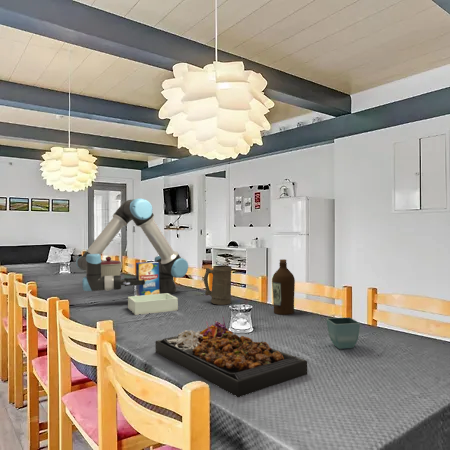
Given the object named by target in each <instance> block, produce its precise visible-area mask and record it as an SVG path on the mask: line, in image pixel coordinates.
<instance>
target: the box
mask: <svg viewBox="0 0 450 450" xmlns="http://www.w3.org/2000/svg"><path fill="white" fill-rule="evenodd" d="M178 301H179V298H178V297H176V296H175V295H172V294H171V293H164V294H153V295H142V296H137V295H134V296H133V295H132V296H127V309H128V310H129V311H130V312H131V311H132V312H131V313H132V314H133V315H135V316H139V314H141V315H148V314H149V313H150V314H157V313H167V312H176V311H178V310H179V304H178V303H179V302H178Z"/></svg>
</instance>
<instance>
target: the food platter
mask: <svg viewBox="0 0 450 450" xmlns="http://www.w3.org/2000/svg"><path fill="white" fill-rule="evenodd" d="M222 320H223V324H222V323H221V322H220V321H216V320H215V321H214V324H210V326H209V323H208V321H207V320H206V321H205V322H206V326H207V328H205V329H203V330H201V331H200V330H198V331H194V330H186V329H185V330H184V331H181V332H180V333H178V334H177V336H171V337H165V338H162V339H158V340H155V342H154V343H155V345H154V347H155V353H156V354H158V355H160V356H162V357H163V358H165V359H167V360H169V361H171V362H172V363H174V364H176V365H178V366H180V367H182V368H183V369H185V370H187V371H189V372H191V373H192V374H194V375H195V376H198V377H200V378H201V379H204V380H205V381H207V382H210V383H211V384H213V385H214V384H215V385H214V386H216V385H217V386H216V387H218V386H219V387H218V388H219V389H222V390H223V389H224V391H225V390H226V392H227V391H228V392H227V393H229V392H230V393H229V394H231V393H232V394H231V395H233V396H234V395H236V396H237V397H236V396H235V397H236V398H241V397H243V395H244V396H247V395H249V393H250V394H252V392H253V393H255V392H259V391H261V390H265V389H267V388H270V387H273V386H277V385H279V384H282V383H285V382H289V381H291V380H294V379H297V378H300V377H303V376H306V375H308V361H307V359H306V360H305V359H304V358H303V359H302V358H300V357H297V356H296V355H295V356H294V355H291V354H289V353H286V352H283V351H281V350H278V349H274V348H271V347H270V345H269V343H268V342H267V341H253V339H252V338H250V337H247V336H244V335H240V336H239V335H237V334H236V333H233V331H231V330H229V329H228V328H227V325H226V323H225V317H224V316H222ZM246 394H247V395H246ZM240 396H241V397H240Z"/></svg>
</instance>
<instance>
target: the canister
mask: <svg viewBox="0 0 450 450" xmlns="http://www.w3.org/2000/svg"><path fill="white" fill-rule="evenodd" d="M122 264H123V262H121V261H120V260H112V257H111V256H107V257H105V260H101V276H112V277H114V276H115V275H120V276H121V271H122Z"/></svg>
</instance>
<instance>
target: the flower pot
mask: <svg viewBox="0 0 450 450" xmlns="http://www.w3.org/2000/svg"><path fill="white" fill-rule="evenodd" d="M360 324H361V323H360V322H359V321H357V320H356V319H354V318H352V317H331V318H329V317H327V318H326V328H327V332H328V336H329V339H330V341H331V343H332V344H333V346H335V347H336V348H337V349H338V350H343V349H354V348H355V346H356V344H357V342H358V340H359V337H360V336H359V334H360V327H361V325H360Z"/></svg>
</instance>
